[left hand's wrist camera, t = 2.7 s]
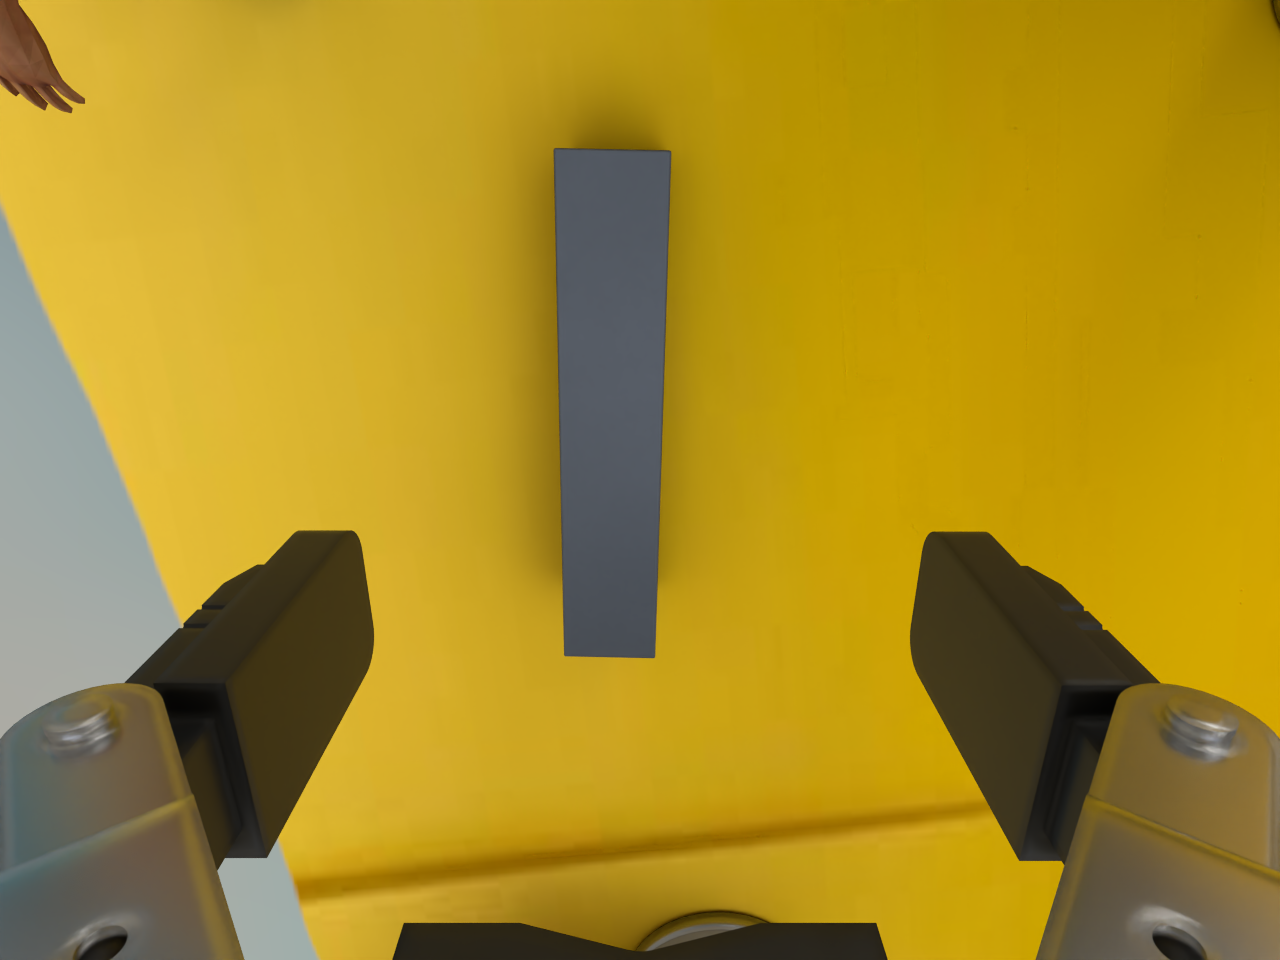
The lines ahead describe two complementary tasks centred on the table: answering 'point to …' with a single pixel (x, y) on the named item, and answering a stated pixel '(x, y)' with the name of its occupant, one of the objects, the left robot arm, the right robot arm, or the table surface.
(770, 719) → the table surface
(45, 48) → the figurine
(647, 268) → the bar
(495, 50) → the table surface
